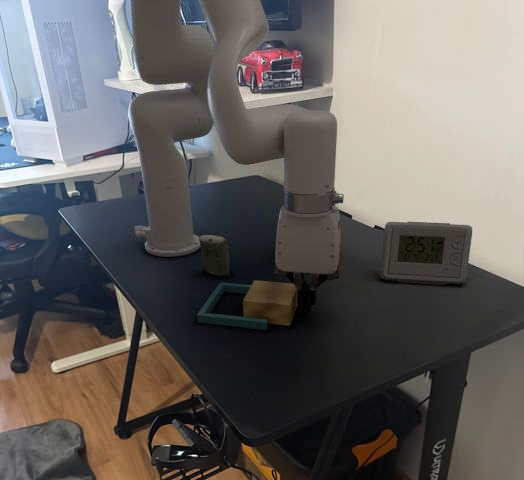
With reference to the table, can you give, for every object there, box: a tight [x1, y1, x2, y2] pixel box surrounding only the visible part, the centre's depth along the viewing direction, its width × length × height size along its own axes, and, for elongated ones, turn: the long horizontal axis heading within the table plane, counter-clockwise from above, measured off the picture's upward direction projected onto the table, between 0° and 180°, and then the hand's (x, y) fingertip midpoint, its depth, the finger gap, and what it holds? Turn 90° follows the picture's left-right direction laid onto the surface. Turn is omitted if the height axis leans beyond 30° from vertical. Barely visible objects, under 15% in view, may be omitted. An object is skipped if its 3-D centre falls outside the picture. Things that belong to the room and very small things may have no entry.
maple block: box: [242, 279, 299, 327], centre depth 88 cm, size 8×8×4 cm
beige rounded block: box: [198, 234, 231, 278], centre depth 101 cm, size 6×5×8 cm
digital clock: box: [379, 221, 473, 286], centre depth 97 cm, size 16×9×11 cm, turn 69°
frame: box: [196, 281, 269, 331], centre depth 91 cm, size 12×13×2 cm
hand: (306, 307), depth 87 cm, fingers closed
